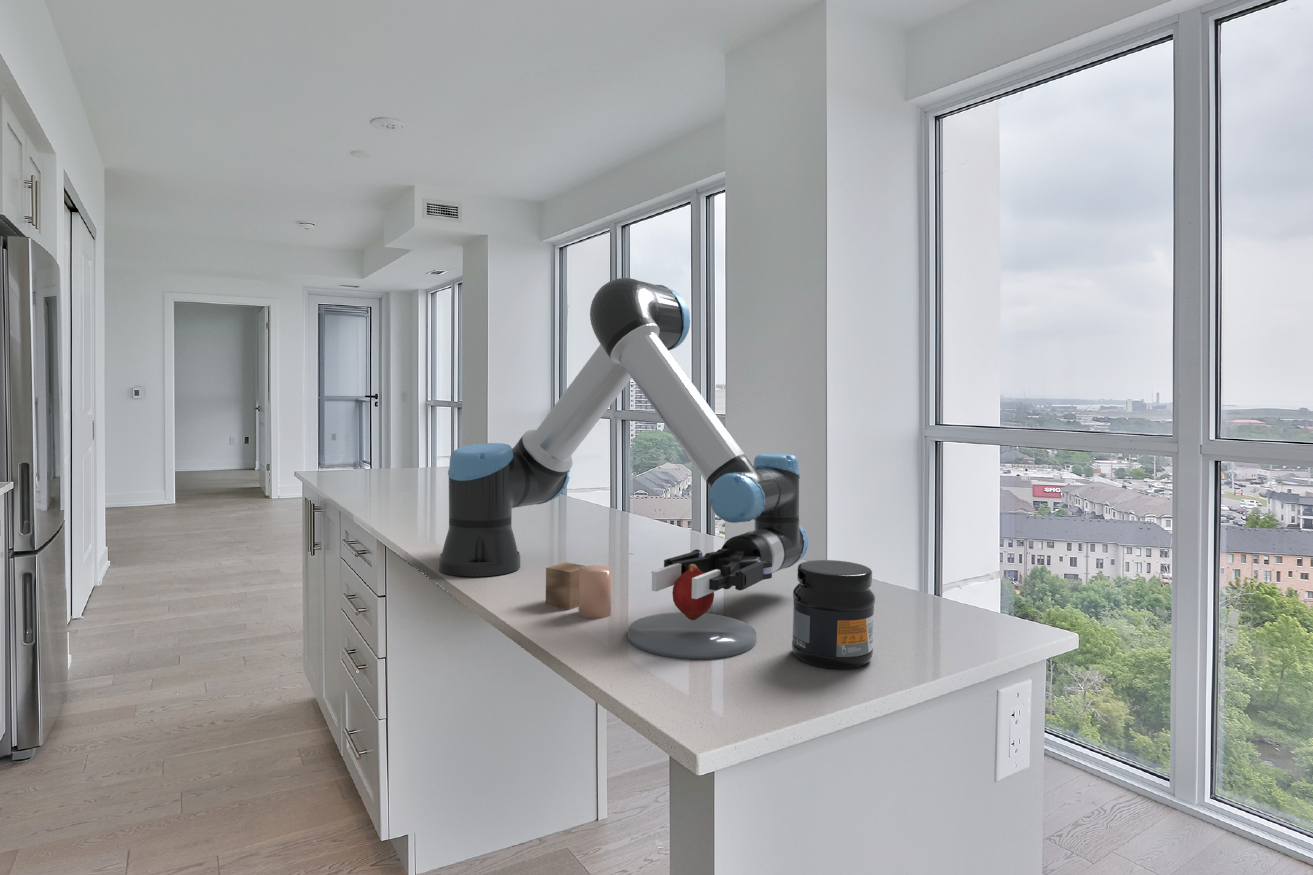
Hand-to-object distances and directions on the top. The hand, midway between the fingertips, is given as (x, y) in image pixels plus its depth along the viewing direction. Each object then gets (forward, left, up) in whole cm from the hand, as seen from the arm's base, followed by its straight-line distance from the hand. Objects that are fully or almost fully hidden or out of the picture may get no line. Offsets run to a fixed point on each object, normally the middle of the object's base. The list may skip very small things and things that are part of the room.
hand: (674, 584), depth 106 cm
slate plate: (0, +5, -8) cm, 10 cm away
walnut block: (-25, +8, -9) cm, 28 cm away
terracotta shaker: (-18, +6, -8) cm, 21 cm away
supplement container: (+19, +9, -9) cm, 23 cm away
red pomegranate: (0, +5, -6) cm, 8 cm away
